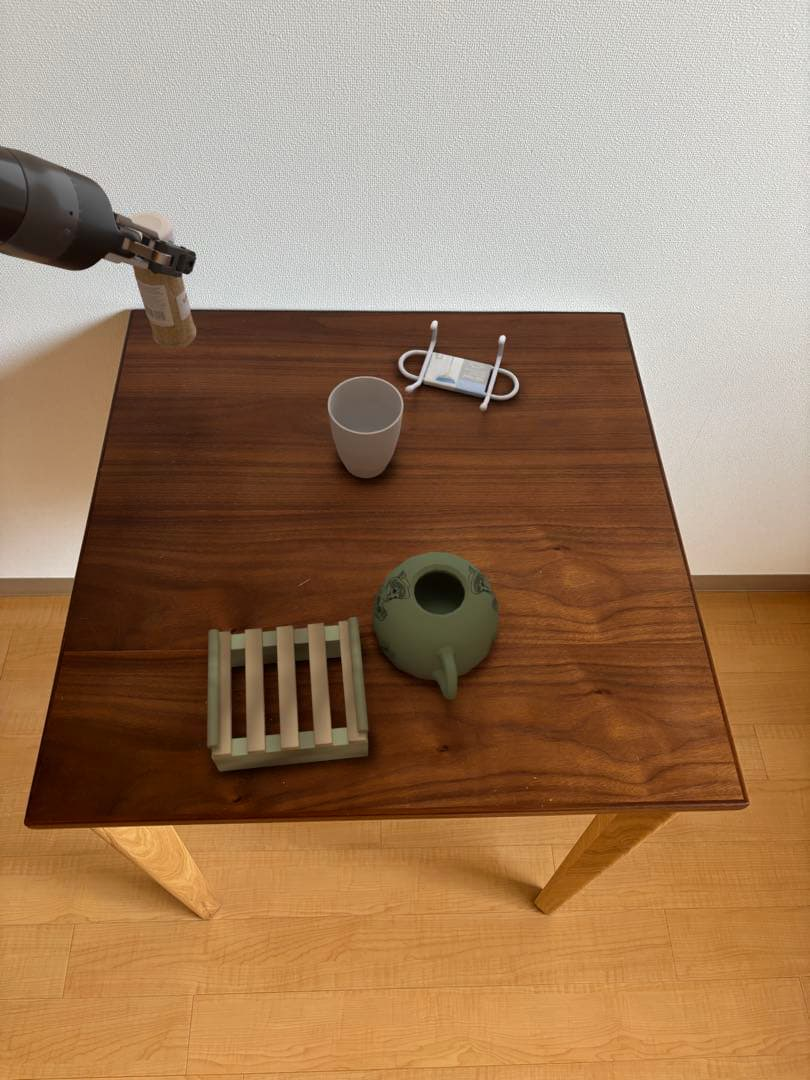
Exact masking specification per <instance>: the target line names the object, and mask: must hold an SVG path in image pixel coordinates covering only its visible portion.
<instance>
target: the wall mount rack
mask: <svg viewBox="0 0 810 1080" xmlns="http://www.w3.org/2000/svg"><path fill="white" fill-rule="evenodd" d="M438 324H439V323H438V320H433V321H431V324H430V325H429V328H430V331H432V335H431V341H430V343H429V347H428V350H424V349H423V350H422V349H411V350H409V351H406V352H405V353H403V354H402V355H401V356H400V357H399V359H398V363H397V364H398V369H399V372H400V373H401V375H403V376H404V377H406V378H407V379H410V380H412V381H415V382H414V383H413V384H410V385H407V386H406V387H405V389H404V392H405V393H407V394H411V393H412V392H413V391H414V390H415V389H417V388H418V387H420V386H421V385H422V383H423V385H426V386H431V387H435V388H438V389H439V388H440V389H442V390H443V389H444V390H447V391H452V392H456V393H460V394H463V395H464V394H465V395H469V396H473V397H477V398H481V399H483V398H484V400H483V402H482V403H481V404H480V405H479V410H480V411H481V412H485V411H486V410H487V409H488V404H489V402H490V399H491V400H496V401H507V400H509V399H512V398H514V397H515V395H517V394H518V392H519V389H520V382H519V380H518V378H517V377H516V376H515V374H513V373H512V372H511V371H510V370H508V369H507V370H506V369H504V368H500V364H501V362H502V357H503V353H504V347H505V342H506V340H507V338H506V336H505V335H504V334H503V335H500V336H499V338H498V341H497V342H498V343H497V344H498V345H499V346H498V352H497V356H496V360H495V364H494V366H493V365H492V364H487V363H484V362H480V361H474V360H470V359H466V358H462V357H459V356H453V355H448V354H444V353H439V352H436V351H434V349H435V346H436V342H437V336H438V327H439V326H438ZM414 355H420V356H425V359H424V361H423V363H422V366H421V370H420V372H419V375H418V376H417V375H414V374H411V373H409V372H407V370H406V369H405V367H404V362H405V360H406V359H407V358H409V357H410V356H414ZM491 372H492V374H491ZM498 373H500V374H503V375H505V376H508V377H509V378H510V379H511V380H512V381H513V384H514V388H513V389H512V391H511V392H510V393H508V394H505V395H497V394H493V393H492V392H493V389H494V385H495V383H496V379H497V375H498ZM490 375H491V377H490ZM489 378H490V380H489ZM488 383H489V384H488ZM487 385H488V387H487ZM486 389H487V391H486Z"/></svg>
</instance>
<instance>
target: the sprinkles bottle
mask: <svg viewBox="0 0 810 1080" xmlns="http://www.w3.org/2000/svg"><path fill="white" fill-rule="evenodd" d="M128 218H130V219H131V220H132V221H133V222H134V223H137V224H139V225H142V226H145V227H147V228H150V229H152V230H154V231H156V232H157V233H158V234H159V238H160V239H163V240H166V241H169V240H170V241H172V242H174V244H176V243H175V242H176V238H175V237H176V236H175V233H174V229H173V226H172V225H173V224H172V222H171V221H170V219H169V218H168V217H167V216H165V215H164V214H161V213H159V212H155V211H141V212H137V213H134V214H132V215H130V216H128ZM130 229H131V228H130ZM133 230H134V229H133ZM135 231H137V230H135ZM137 232H138V233H139V234H140V236H141V240H142V233H141V232H139V231H137ZM140 243H141V242H140ZM136 255H137V254H136ZM136 255H135V257H136ZM133 258H134V257H133ZM132 268H133V272H134V273H133V274H134V277H135V281H136V284H137V287H138V292H139V295H140V297H141V301H142V305H143V307H144V310H145V314H146V317H147V319H148V320H149V324H150V327H151V330H152V338H153V341H154V342H155V343H156V345H158V346H159V347H161V348H163V349H165V350H166V349H167V350H180V349H184V348H186V347H188V346H189V345H191V344H192V342H193V341H194V340H195V338H196V337H197V326H196V325H195V323H194V319H193V316H192V312H191V305H190V301H189V297H188V294H187V290H186V285H185V282H184V277H183V276H182V277H177V278H176V277H174V276H169V275H164V274H159V273H157V274H155V273H152V272H151V270H149V269H147V270H145V269H141V268H138V267H135V266H132Z"/></svg>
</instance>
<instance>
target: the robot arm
mask: <svg viewBox="0 0 810 1080" xmlns="http://www.w3.org/2000/svg"><path fill="white" fill-rule="evenodd" d="M130 228H131V229H130ZM133 229H134V230H133ZM135 230H137V231H139V232H141V233H142V240H141V236H140V234H139V233H138V232H137V231H135ZM140 242H141V243H140ZM0 254H2V255H4V256H8V257H12V258H16V259H20V260H24V261H28V262H31V263H32V262H33V263H36V264H40V265H45V266H50V267H53V268H57V269H62V270H66V271H70V272H80V271H85V270H88V269H90V268H92V267H94V266H95V265H97V264H98V263H99V262H100V261H101V260H105V261H107V262H111V263H113V264H117V265H118V264H122V263H123V264H127V265H130V266H132V267H133V266H135V267H138V268H141V269H145V270H147V269H149V270H151V272H152V273H155V274H157V273H159V274H164V275H169V276H174V277H176V278H177V277H183V274H184V275H190V274H191V273H192V272H193V271H194V268H195V264H196V261H197V253H196V252H195V251H193V250H191V249H189V248H187V247H185V246H183V245H177V244H176V243H175V244H174V242H172V241H170V240H169V241H166V240H163V239H160V238H159V234H158V233H157V232H156V231H154V230H152V229H150V228H147V227H145V226H142V225H139V224H137V223H134V222H133V221H132V220H131V219H130V218H129V216H126V215H125V214H122V213H120V212H116V211H114V209H113V205H112V203H111V201H110V199H109V197H108V195H107V193H106V191H105V190H104V189H103V188H102V186H100V184H98V182H97V181H95V179H92V178H91V177H89V176H86V175H84V174H81V173H79V172H76V171H74V170H72V169H70V168H67V167H64V166H62V165H59V164H57V163H54V162H52V161H49V160H47V159H44V158H42V157H40V156H37V155H35V154H32V153H29V152H27V151H23V150H21V149H17V148H11V147H7V146H3V145H0ZM136 254H137V255H136ZM135 255H136V257H135ZM133 257H134V258H133Z"/></svg>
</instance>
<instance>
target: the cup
mask: <svg viewBox="0 0 810 1080" xmlns="http://www.w3.org/2000/svg"><path fill="white" fill-rule="evenodd" d="M327 410H328V418H329V424H330V430H331V436H332V439H333V442H334V445H335V447H336V448H335V449H336V451H337V454H338V456H339V459H340V460H341V462H342V463H343V466H344V467H345V468H346V471H348V472H349V473H350V474H352V475H353V476H355V477H357V478H360V479H371V478H375V477H377V476H379V475H381V474H382V473H383V472H384V471H385V469H386V468H387V466H388V464H389V463H390V461H391V460H392V458H393V456H394V453H395V450H396V448H397V447H396V446H397V443H398V440H399V437H400V432H401V427H402V419H403V414H404V413H403V412H404V400H403V396H402V394H401V393H400V391H399V390H398V389H397V388H396V387H395V386H394V385H393V384H392V383H390V382H389V381H387V380H386V379H385V380H384V379H382V378H379V377H375V376H368V375H367V376H365V375H364V376H363V375H362V376H356V377H352V378H351V377H350V378H349V379H345V380H344V381H342V382H341V383H339V384H338V385H337V386H336V387H334V389H333V390H332V391H331V393H330V394H329V397H328V399H327Z"/></svg>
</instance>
